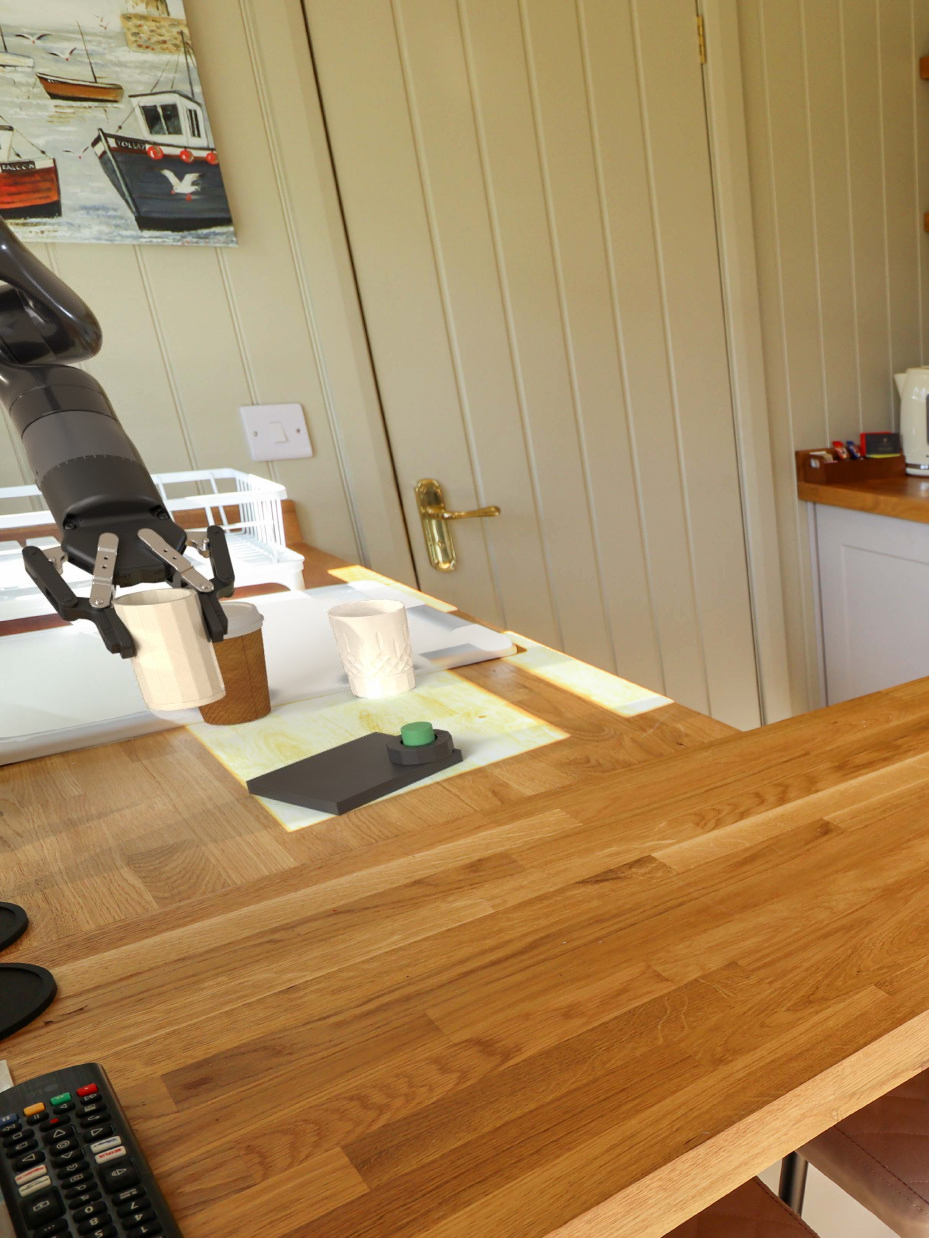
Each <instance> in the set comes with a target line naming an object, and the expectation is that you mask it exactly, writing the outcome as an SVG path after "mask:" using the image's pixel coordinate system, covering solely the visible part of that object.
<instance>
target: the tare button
mask: <svg viewBox="0 0 929 1238" xmlns="http://www.w3.org/2000/svg"><path fill="white" fill-rule="evenodd" d="M433 729H434V726H433V724H432V723H431V722H430V721H413V722H409V723H405V724H404V725H402V726H401V727H400V734H402V738H403V743H404V745H406V746H419V745H423V744H428V743H431V742H433V741H435V736H434V731H433Z"/></svg>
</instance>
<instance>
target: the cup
mask: <svg viewBox="0 0 929 1238" xmlns="http://www.w3.org/2000/svg"><path fill="white" fill-rule="evenodd" d="M111 603H112V606H113V607H112V608H114V609H115V611H116V613H117V615H118V616H119V618H120V620H121V622H122V624H123V626H124V628H125V631H126V633H127V635H128V637H129V639H130V641H131V644H132V647H133V657H132V658H129V661H130V664H131V667H132V670H133V673H134V677H135V679H136V682H137V685H138V688H139V691H140V695H141V697H142V699H143V701H144V705H145V707H146V708H147V709H149V710H153V711H159V712H160V711H162V712H167V711H168V712H169V711H171V712H172V711H180V710H190V709H195V708H198V707H199V706H203V705H207V704H210V703H213V702H215V701H217V700H219V699H221V698H223V697H224V696H225V694H226V692H225V688H224V687H225V686H224V683H223V679H222V676H221V672H220V669H219V666H218V662H217V659H216V655H215V652H214V649H213V645H212V642H211V638H210V635H209V631H208V628H207V625H206V621H205V618H204V614H203V611H202V607H201V604H200V601H199V597H198V594H197V592H196V591H195V590H192V589H186V588H172V587H169V588H168V587H167V588H155V589H154V588H153V589H147V590H140V591H136V592H131V593H126V594H123V595H120V596H117V597H115V599H114V600H113V601H111Z"/></svg>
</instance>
